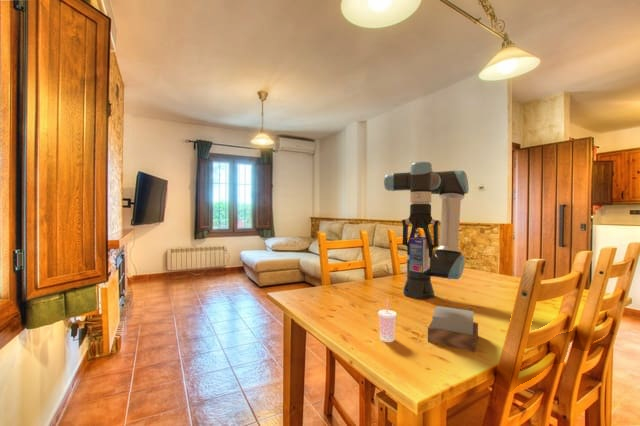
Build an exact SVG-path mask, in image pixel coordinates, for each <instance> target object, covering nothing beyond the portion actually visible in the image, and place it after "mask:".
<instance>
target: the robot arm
mask: <svg viewBox="0 0 640 426" xmlns="http://www.w3.org/2000/svg"><path fill="white" fill-rule="evenodd" d="M383 186H384V189H385V190H386V191H389V192H390V191H391V192H395V191H396V192H397V191H398V192H399V191H410V194H409V200H410V201H409V202H410V203H411V204H410V205H409V217H408V218H406V219H401V223H402V245H403V246H406V247H407V249H406V254H407V255H406V256H407V257H406V280H405V284H404V286H403V289H402V290H403V292H402V294H403V295H404V296H405V297H408V298H412V299H417V300H428V299H430V300H431V299H433V298H435V290H434V287H433V284H432V280H431V278H440V279H448V280H459V279H460V278H461V277H462V275H463V272H464V268H465V263H466V262H465V261H466V259H465V258H466V257H465V256H464V255H463V254H462V251H461V250H460V249H459V235H460V234H459V233H460V221H461V206H462V205H461V203H462V200H464V198H465V195H466V194H468V193H469V181H468V176H467V173H466V171H464V170H457V169H456V170H455V169H454V170H448V171H447V170H446V171H433V168H432V163H431V162H430V161H429V162H428V161H416V162H413V163H411V165H410V171H408V172H392V173H386V175H385V176H384V178H383ZM432 195H439V198H440V199H441V212H440V213H441V215H440V220H437V219H433V216H432V205H431V204H430V203H432ZM409 224H411V225H412V226H411V231H410V233H409ZM431 224H432V226H433V227H432V231H433V236H432V237H433V239H432V237H431V233H430V228H429V225H431ZM439 224H440V226H439ZM418 229H422V230H423V232H424V237H426V240H427V244H428V247H429V248H427V249H426V266H427V267H429V266H430V269H428V270H426V271H425V272H422V273H421V272H415V271H409V260H410V239H411V238H414V237H416V233H415V231H418ZM408 234H409V235H408ZM434 248H435V251H434Z"/></svg>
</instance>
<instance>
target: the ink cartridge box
mask: <svg viewBox="0 0 640 426" xmlns="http://www.w3.org/2000/svg"><path fill="white" fill-rule="evenodd" d="M415 233H416V234H415V237H414V238H411V239H410V260H409V271H415V272H421V273H422V272H425V271H426V270H428V269H430V266H429V267H427V266H426V249H427V248H429V247H428V244H427V240H426V236H422V235H421V233H420V232H419V230H416V231H415Z"/></svg>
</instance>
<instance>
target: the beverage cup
mask: <svg viewBox="0 0 640 426" xmlns="http://www.w3.org/2000/svg"><path fill="white" fill-rule="evenodd" d="M377 315H378V321H379V339H380V341H382V342H385V343H392V342H394V341H395V331H396V319H397V318H396V317H397V312H396V311H395V310H391V309H389V298H388V297H386V309H379V310H378V312H377Z"/></svg>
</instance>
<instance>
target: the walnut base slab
mask: <svg viewBox="0 0 640 426" xmlns="http://www.w3.org/2000/svg"><path fill="white" fill-rule="evenodd" d="M478 337H479V322H475V321H473V335H467V334H462V333H456V332H451V331H445V330H440V329H434V328H432V321H431V322H430V324H428V327H427V342H428V343H434V344H437V345H442V346H445V347H446V346H447V347H449V348H456V349H458V350H463V351H464V350H465V351H468V352H472V353H476V349H477V343H478Z"/></svg>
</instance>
